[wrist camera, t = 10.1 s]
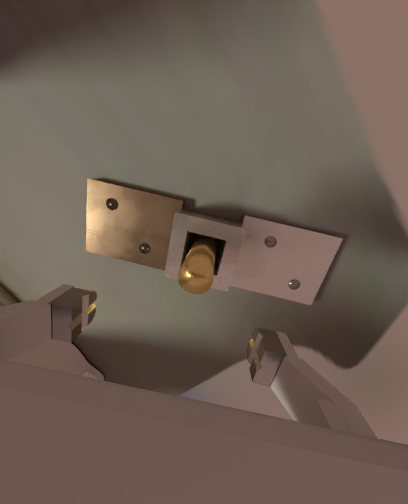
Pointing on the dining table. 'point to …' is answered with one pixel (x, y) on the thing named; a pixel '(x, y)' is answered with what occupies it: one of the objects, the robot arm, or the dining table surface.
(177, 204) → the hinge
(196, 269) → the brass pin
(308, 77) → the dining table surface
